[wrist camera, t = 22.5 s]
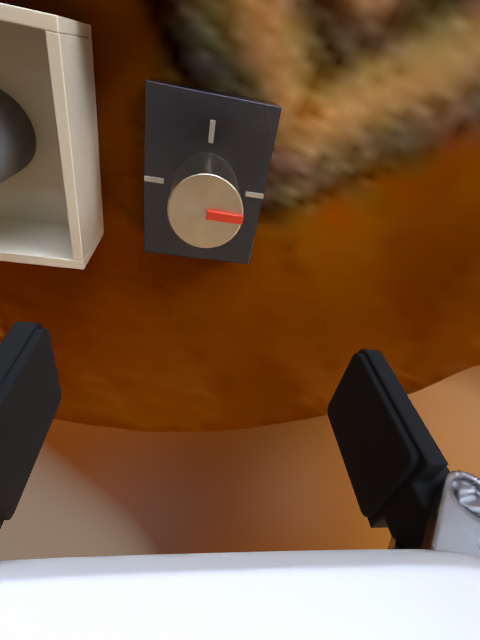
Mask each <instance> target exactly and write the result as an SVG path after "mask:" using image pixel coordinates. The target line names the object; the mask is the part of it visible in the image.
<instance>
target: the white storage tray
mask: <svg viewBox="0 0 480 640" xmlns="http://www.w3.org/2000/svg"><path fill="white" fill-rule="evenodd" d="M0 89H1V90H2V91H4V92H6V93H7V94H9V95H10V96H11V97H12V98H13V99H14V100H15V101H16V102H17V103H18V104H19V105H20V106H21V107H22V109H23V110H24V111H25V113H26V114H27V116H28V118H29V120H30V122H31V123H32V126H33V129H34V132H35V136H36V150H35V154H34V156H33V158H32V160H31V162H30V163H29V164H28V165H27V166H26V167H25V168H23V169H22V170H21V171H19V172H18V173H16V174H15V175H13V176H11V177H10V178H8V179H7V180H5V181H4V182H2V183H0V261H7V262H17V263H26V264H36V265H45V266H54V267H64V268H73V269H83V270H84V268H85V267H86V265H87V263H88V261H89V259H90V258H91V256H92V254H93V252H94V251H95V249H96V247H97V245H98V243H99V242H100V240H101V238H102V236H103V234H104V223H103V207H102V191H101V175H100V159H99V142H98V126H97V110H96V94H95V78H94V62H93V45H92V29H91V25H90V24H87V23H84V22H80V21H76V20H73V19H69V18H65V17H62V16H58V15H54V14H50V13H45V12H41V11H36V10H32V9H27V8H23V7H18V6H14V5H9V4H4V3H0Z"/></svg>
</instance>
